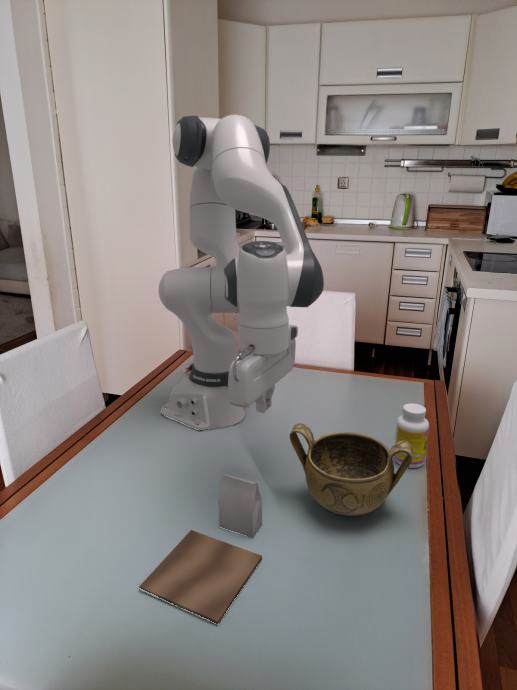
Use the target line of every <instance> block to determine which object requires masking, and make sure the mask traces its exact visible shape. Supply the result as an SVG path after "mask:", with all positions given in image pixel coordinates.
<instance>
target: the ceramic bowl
mask: <svg viewBox="0 0 517 690" xmlns="http://www.w3.org/2000/svg"><path fill="white" fill-rule="evenodd" d="M297 433H298V434H300V435H302V436H303V438H304V439H305V441H306V443H307V445H308V449H307V453H306V451H305V449H304V447H303V444H302V443H301V441H300V438H299V436H298V434H297ZM314 438H315V437H314V433H313V432H312V430H311V429H310V427H309V426H307V424H304V423H302V422H297V423H295V424H294V426H293V427H292V429H291V431H290V433H289V440H290V443H291V445H292V448H293V449H294V451H295V454H296V455H297V457H298V460H299V462H300V463H301V465H302V468H303V471H304V472H303V473H304V475H305V476H304V477H305V482H306V485H307V488H308V491H309V492H310V494H311V496H312V497H313V499H314V500H315V501H316V502H317V503H318V504H319V505H320V506H322V507H323V508H324V509H325V510H327V511H328V512H331V513H334V514H337V515H340V516H348V517H354V516H364V515H366V514H368V513H372V512H373V511H374V510H376V509H377V508H379V507H380V506H381V505H382V504H383V503H384V502H385V501H386V500H387V498H388V496H389V495H390V493H391V492H392V491H393V489H394V488H396V485H397V484H398V483H399V482H400V480H401V479H402V478H403V475H404V474H405V472H406V471H407V470H408V469H409V468H408V467H409V465H410V464H411V462H412V452H413V449H412V446H411V444H410V443H408V442H407V441H399V442H397V443H396V444H395V443H394V444H393V445H392V446H391V448H390V449H389V448H388V446H386V445H385V444H384V443H383V442H382V441H380V440H379V439H377V438H375V437H372V436H369V435H368V434H364V433H360V432H355V431H337V432H330V433H326V434H323V435H321V436H319V437H318V438H316V439H314ZM400 452H405V453H406V454H408V455H407V456H406V457H405V459H404V461H403V462H402V464H401V465H400V464H399V467H398V468H397V471H396V472H395V466H394V460H393V459H394V456H395V455H396V454H398V453H400Z"/></svg>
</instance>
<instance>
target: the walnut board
mask: <svg viewBox="0 0 517 690" xmlns="http://www.w3.org/2000/svg"><path fill="white" fill-rule="evenodd" d="M262 560H263V555H261V554H259V553H256V552H253V551H251V550H248V549H244V548H242V547H239V546H237V545H234V544H231V543H228V542H225V541H222V540H221V539H217V538H214V537H212V536H209V535H206V534H203V533H202V532H199V531H195V530H192V529H190V530H189V531H188V533H187V534H186V535H185V536H184V537H182V538H181V540H180V541H179V542H178V544H176V546H175V547H174V548H172V550H171V551H170V552H169V553H168V554H167V555H166V557H165V558H164V559H163V560H162V561H160V563H159V564H158V565H157V566H156V567H155V568H154V570H153V571H152V572H150V574H149V575H148V576H147V578H146V579H144V581H142V582H141V584H140V585H139V588H141V589H143V590H145V591H147V592H149V593H152V594H154V595H156V596H158V597H159V598H162V599H164V600H166V601H168V602H170V603H173V604H174V605H177V606H178V607H180V608H183V609H186V610H188V611H190V612H193V613H194V614H197V615H200V616H201V617H204V618H206V619H209V620H210V621H212V622H214V623H216V624H218V623H219V622H220V620H221V619H222V617H223V616H224V614H225V613H226V611H227V610H228V608H229V607H230V605H231V604H232V602H233V601H234V599H235V598H236V597H237V598H238V596H239V595H240V593H241V592H242V590H243V589H244V587H245V586H246V584H247V583H246V582H249V580H248V579H250V578H251V577H250V576H253V574H254V572H255V571H256V569H257V568H258V566H259V565H260V563H261V562H262ZM256 567H257V568H256ZM254 570H255V571H254ZM252 573H253V574H252ZM244 585H245V586H244ZM243 586H244V587H243ZM242 588H243V589H242ZM241 589H242V590H241ZM240 591H241V592H240ZM239 592H240V593H239ZM238 594H239V595H238ZM237 595H238V596H237ZM237 598H236V599H237ZM236 599H235V600H236ZM234 602H235V601H234ZM234 602H233V603H234ZM232 605H233V604H232ZM232 605H231V606H232ZM180 608H179V609H180ZM230 608H231V607H230ZM230 608H229V609H230ZM228 611H229V610H228ZM228 611H227V612H228ZM226 614H227V613H226ZM226 614H225V615H226ZM224 617H225V616H224ZM224 617H223V618H224ZM222 620H223V619H222ZM222 620H221V621H222ZM220 623H221V622H220ZM220 623H219V624H220Z"/></svg>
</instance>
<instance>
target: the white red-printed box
mask: <svg viewBox="0 0 517 690" xmlns="http://www.w3.org/2000/svg"><path fill="white" fill-rule="evenodd" d="M219 489H220V490H219V494H218V495H219V496H218V499H217V501H218V503H217V504H218V505H217V506H218V524H219V527H222V528H225V529H228V530H231V531H234V532H237V533H240V534H243V535H242V536H244V535H246V536H245V537H247V536H248V537H247V538H250V537H251V539H254V538H255V537H256V535H257V534H258V533H259V531H260V530H259V529H261V528H262V527H263V497H262V495H261V492H260V488H259V483H257V482H254V481H250V480H246V479H243V478H239V477H236V476H233V475H231V476H230V475H228V474H222V476H221V484H220V488H219ZM261 526H262V527H261ZM219 527H218V528H219ZM222 528H221V529H222ZM225 529H224V530H225ZM228 530H227V531H228ZM231 531H230V532H231ZM234 532H233V533H234ZM237 533H236V534H237ZM256 533H257V534H256ZM240 534H239V535H240Z"/></svg>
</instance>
